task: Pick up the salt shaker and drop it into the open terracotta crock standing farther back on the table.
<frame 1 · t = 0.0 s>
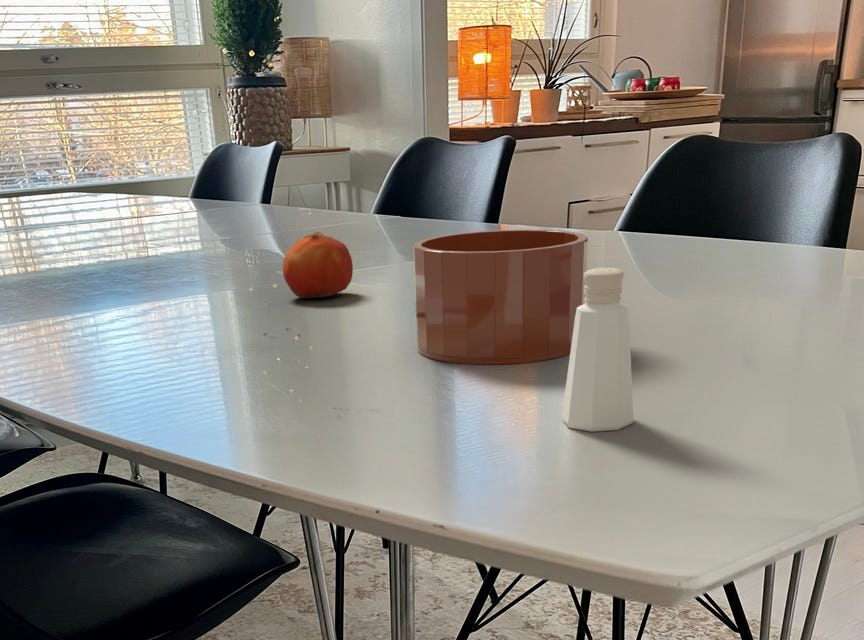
tomato: (320, 298, 136), on the table
crock: (499, 345, 103), on the table
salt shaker: (596, 424, 78), on the table
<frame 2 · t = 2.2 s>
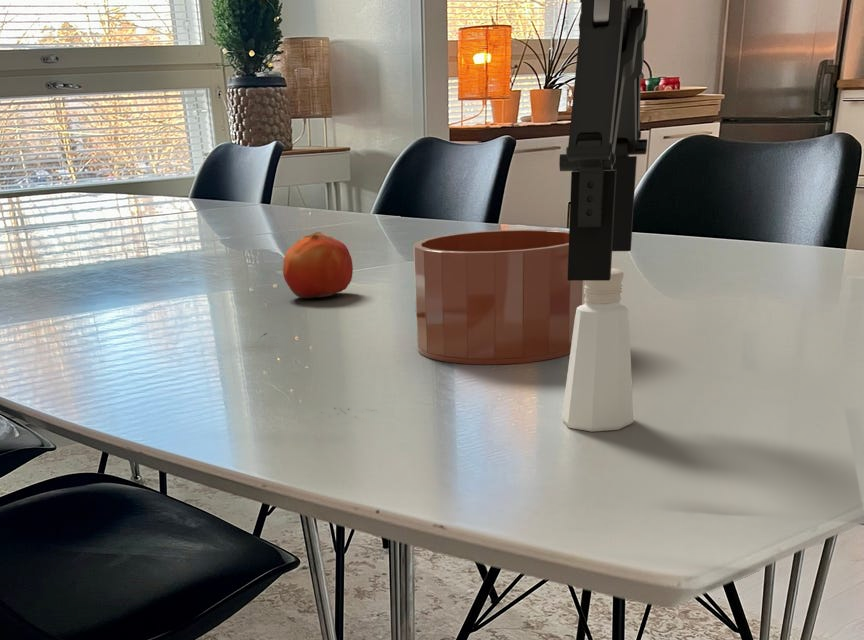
hand: (601, 264, 73), 11 cm above the table, tool pointing down, fingers open, 13 cm apart
nothing on the table moved.
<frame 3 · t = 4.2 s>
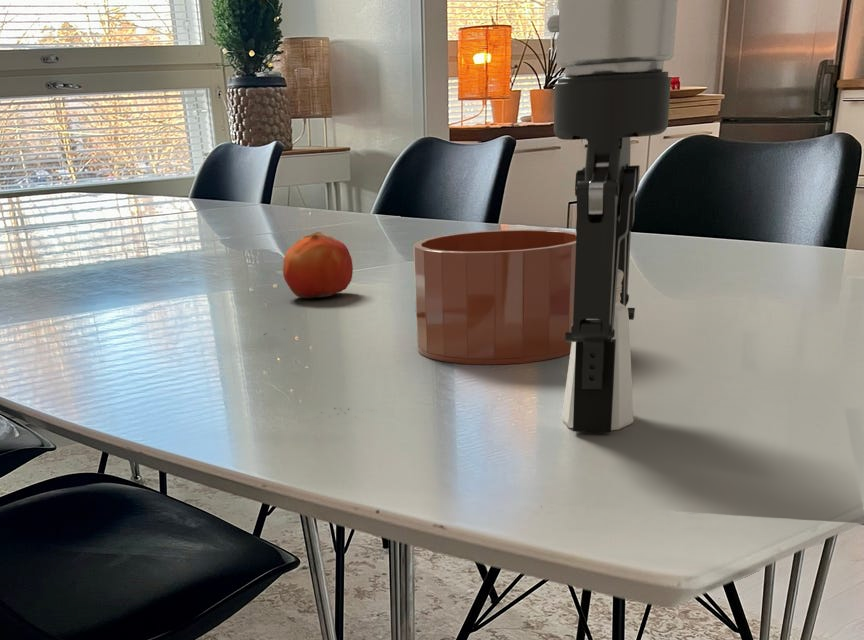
hand: (597, 417, 78), 0 cm above the table, tool pointing down, fingers closed on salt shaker, 5 cm apart
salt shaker: (597, 424, 78), on the table, touching gripper
everything else where it was.
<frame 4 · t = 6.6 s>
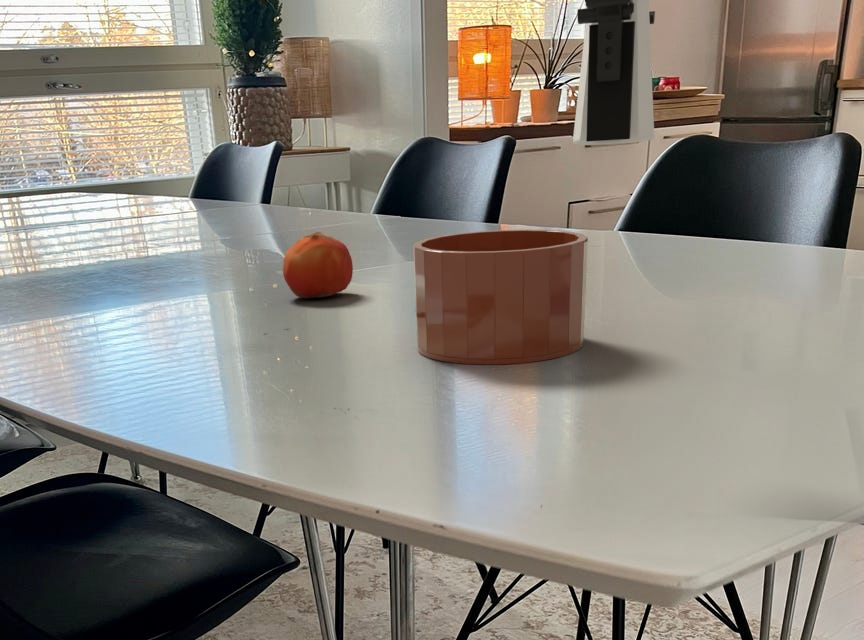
hand: (613, 136, 69), 20 cm above the table, tool pointing down, fingers closed on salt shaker, 5 cm apart
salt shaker: (612, 145, 69), point 19 cm above the table, touching gripper
everything else where it was.
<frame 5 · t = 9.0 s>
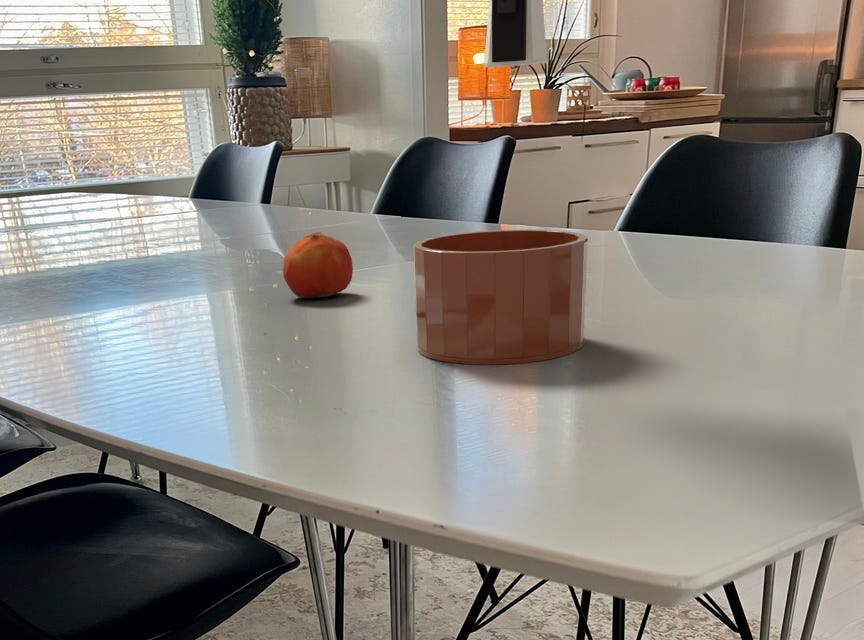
hand: (515, 61, 87), 25 cm above the table, tool pointing down, fingers closed on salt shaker, 5 cm apart
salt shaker: (515, 67, 87), point 24 cm above the table, touching gripper
everything else where it was.
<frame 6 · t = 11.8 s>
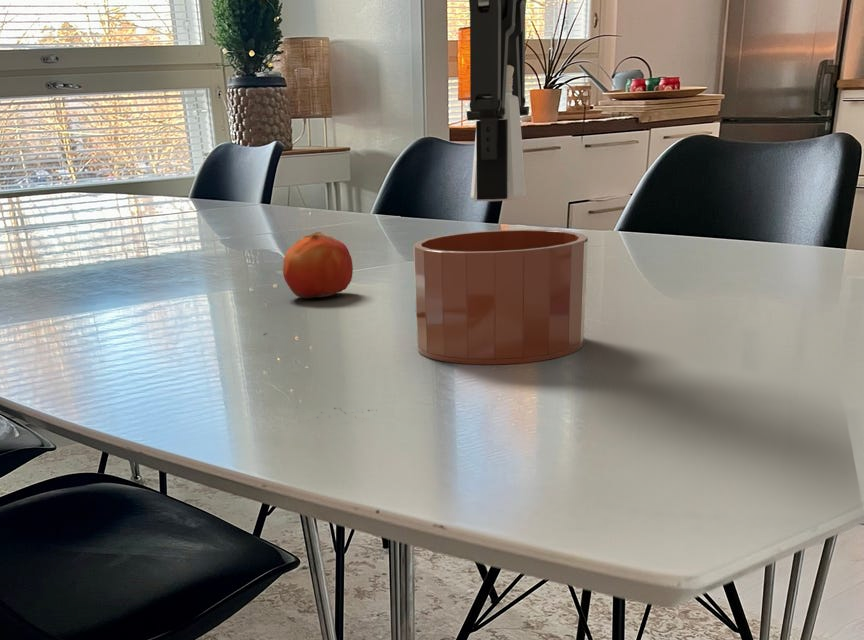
hand: (498, 195, 97), 14 cm above the table, tool pointing down, fingers closed on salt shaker, 5 cm apart
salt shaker: (498, 200, 97), point 14 cm above the table, touching gripper
everything else where it was.
when the fingers open (7 cm above the table, at t = 14.0 s): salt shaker drops 6 cm, resting on crock.
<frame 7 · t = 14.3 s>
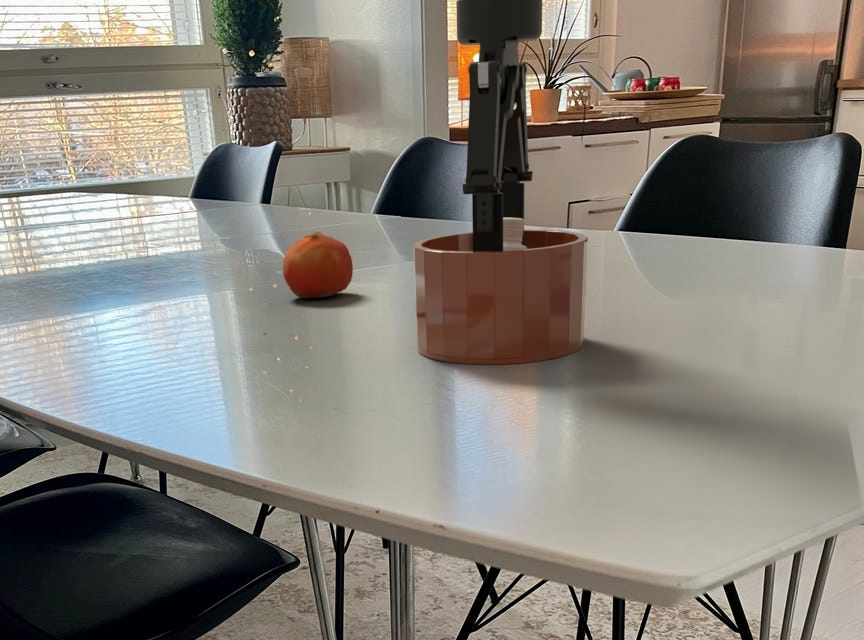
hand: (499, 260, 100), 8 cm above the table, tool pointing down, fingers open, 10 cm apart
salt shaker: (501, 337, 103), point 1 cm above the table, touching crock
everything else where it was.
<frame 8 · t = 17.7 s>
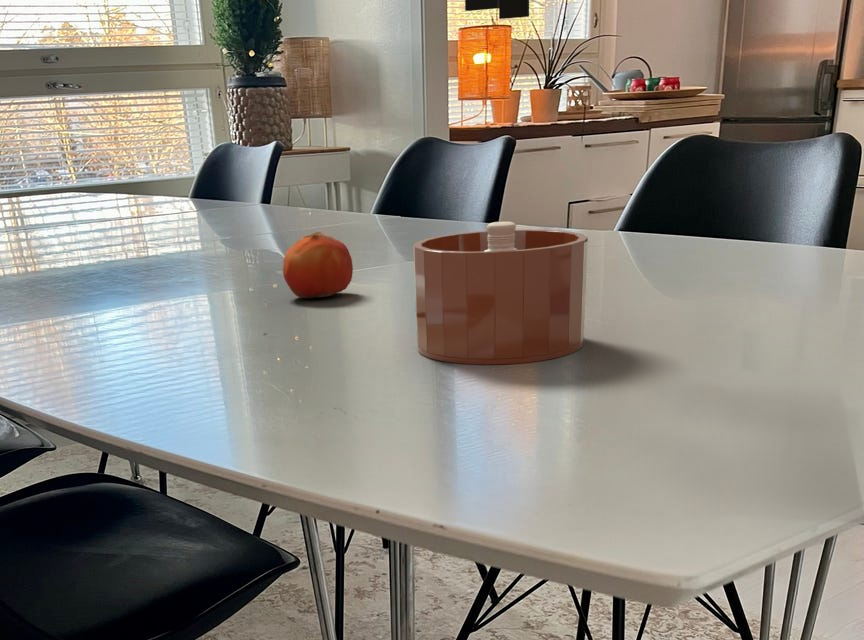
hand: (499, 14, 90), 29 cm above the table, tool pointing down, fingers open, 13 cm apart
at the end: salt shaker inside the target area in the crock (0.4 cm from its centre), point 0.3 cm above the crock's base; the gripper is holding nothing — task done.
